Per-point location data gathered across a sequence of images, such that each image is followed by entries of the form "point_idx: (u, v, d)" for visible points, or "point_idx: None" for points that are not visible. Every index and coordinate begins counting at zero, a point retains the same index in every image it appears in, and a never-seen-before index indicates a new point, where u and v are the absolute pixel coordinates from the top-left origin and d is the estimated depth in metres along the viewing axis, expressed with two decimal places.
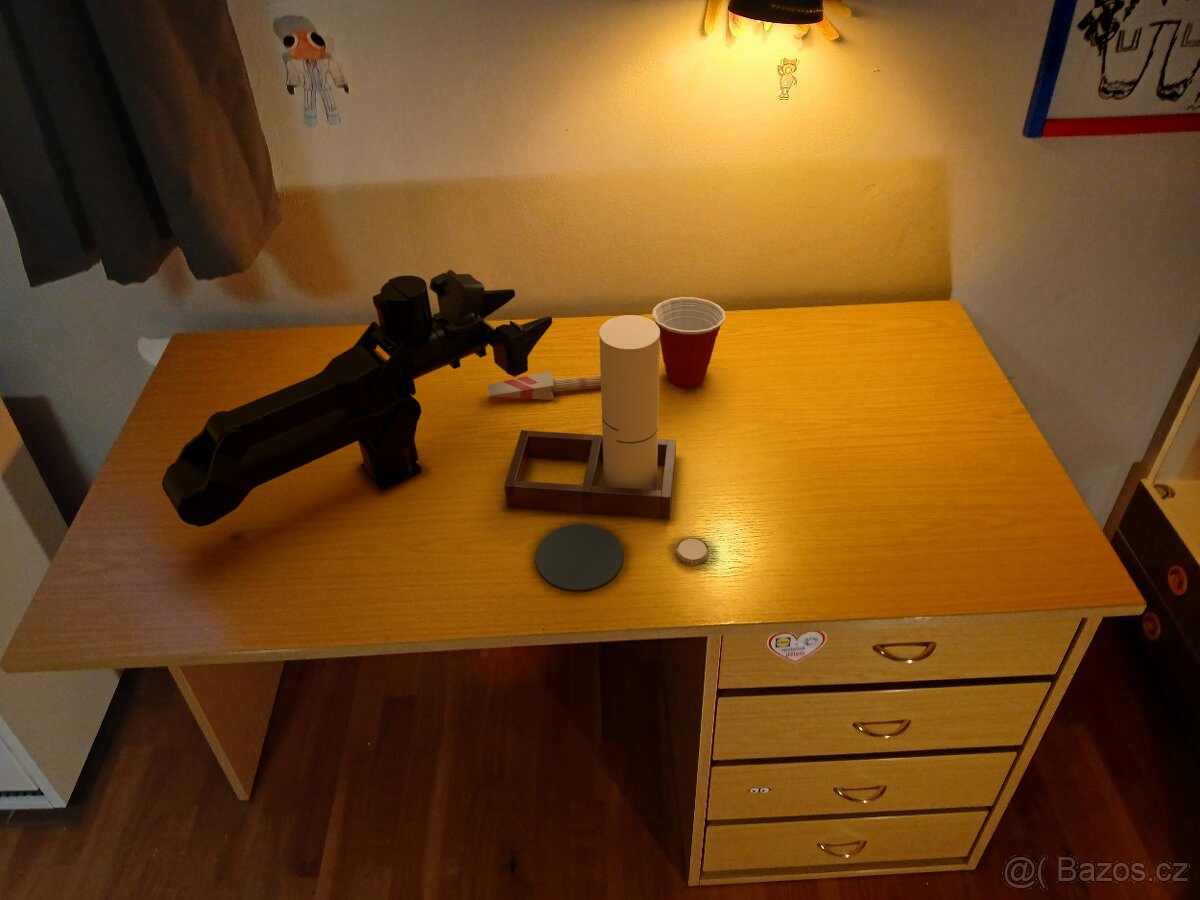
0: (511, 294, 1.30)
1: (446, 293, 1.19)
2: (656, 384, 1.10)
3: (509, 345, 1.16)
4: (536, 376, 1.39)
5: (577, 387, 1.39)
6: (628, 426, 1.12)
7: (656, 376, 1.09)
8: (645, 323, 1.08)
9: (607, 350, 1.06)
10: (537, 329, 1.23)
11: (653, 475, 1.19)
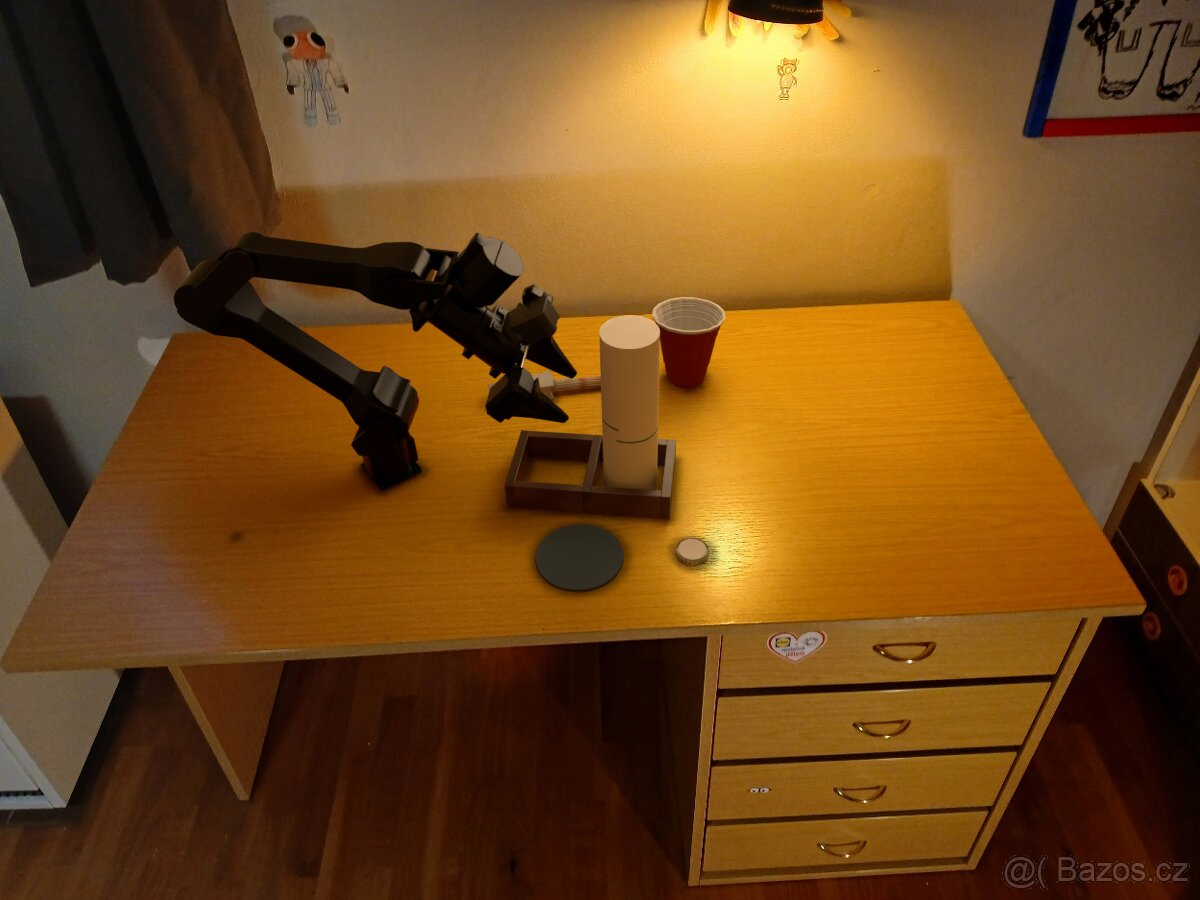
0: (571, 374, 1.19)
1: (528, 304, 1.09)
2: (656, 384, 1.10)
3: (511, 387, 1.04)
4: (536, 376, 1.39)
5: (577, 387, 1.39)
6: (628, 426, 1.12)
7: (656, 376, 1.09)
8: (645, 323, 1.08)
9: (607, 350, 1.06)
10: (547, 410, 1.10)
11: (653, 475, 1.19)
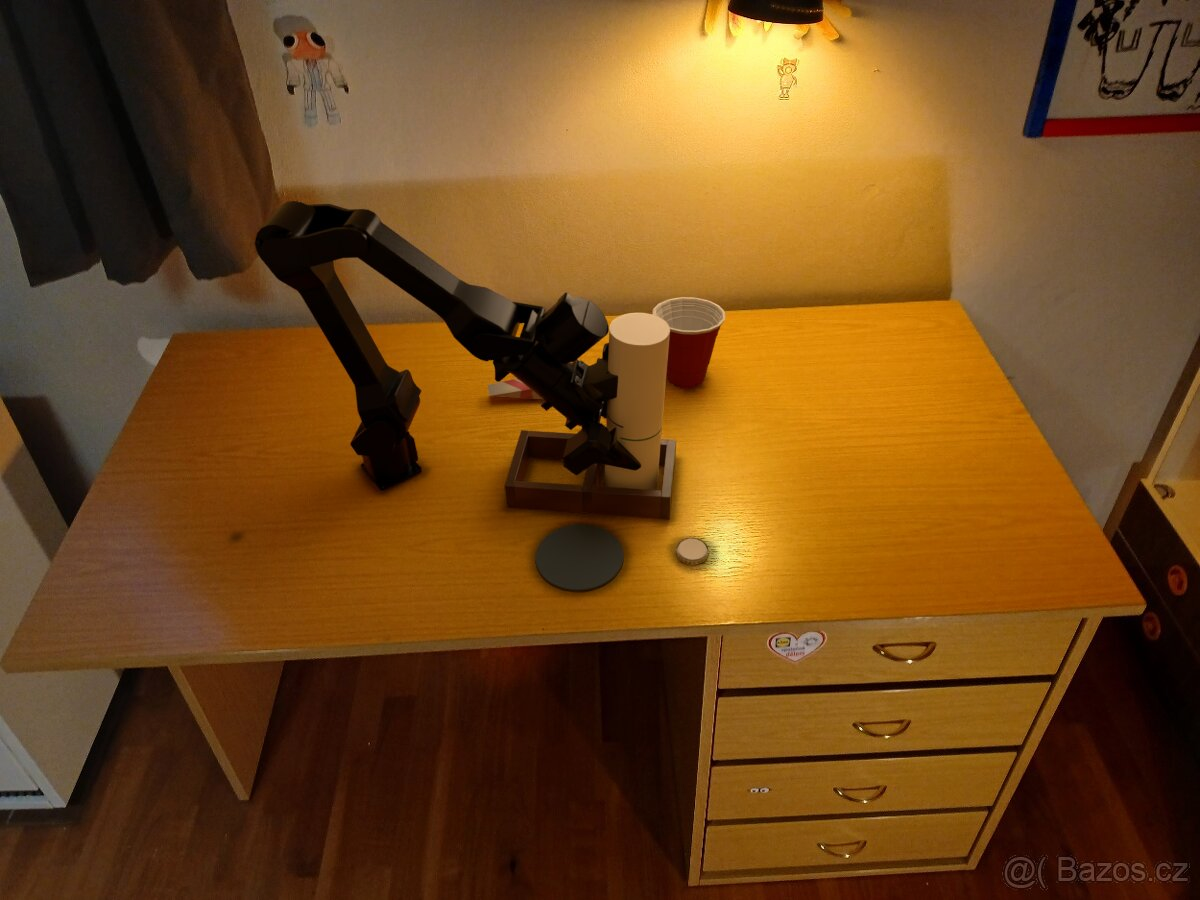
0: None
1: None
2: (663, 382, 1.10)
3: (590, 443, 1.07)
4: None
5: None
6: (633, 424, 1.12)
7: (664, 374, 1.09)
8: (655, 321, 1.08)
9: (617, 345, 1.06)
10: (622, 458, 1.14)
11: (654, 475, 1.19)
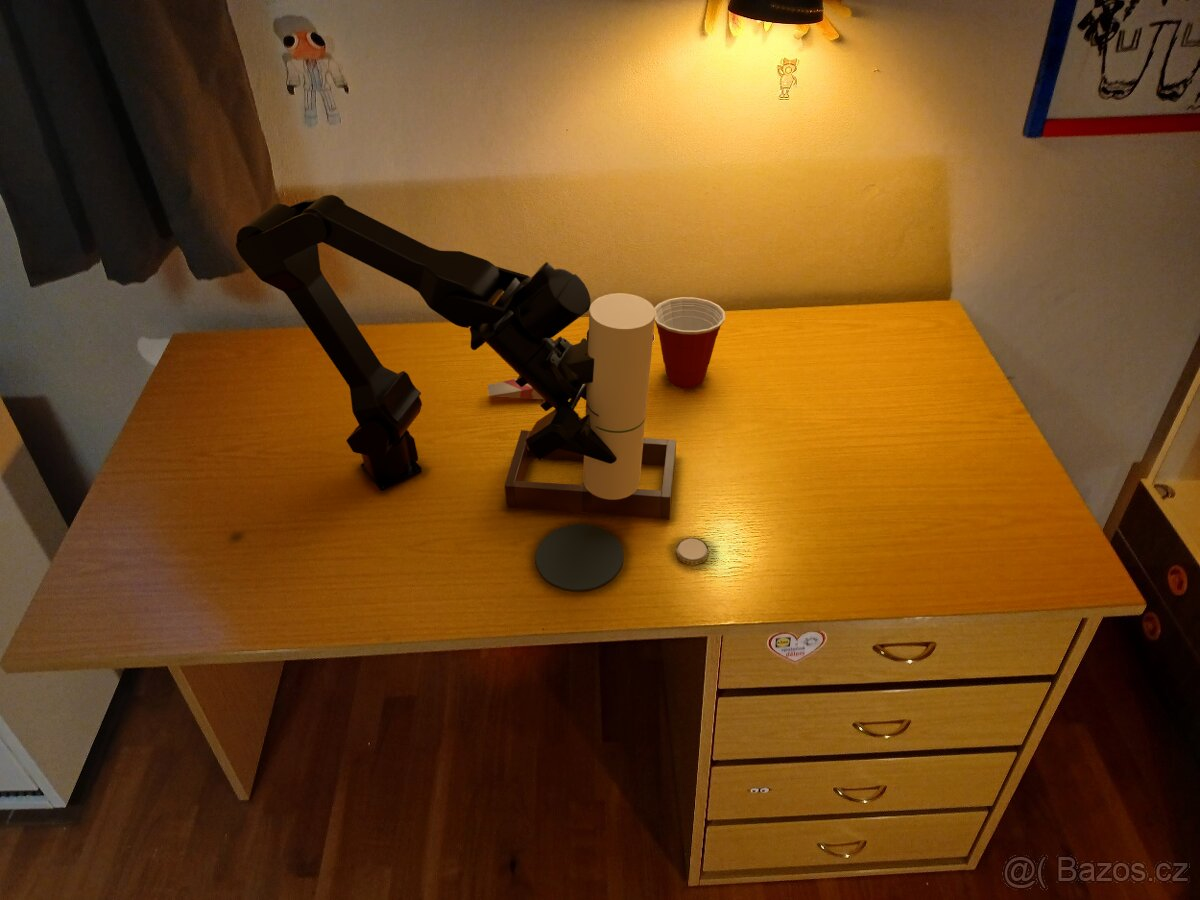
0: None
1: None
2: (644, 372, 1.01)
3: (553, 427, 0.99)
4: None
5: None
6: (608, 413, 1.03)
7: (645, 364, 1.00)
8: (642, 304, 0.99)
9: (593, 326, 0.97)
10: (594, 449, 1.06)
11: (633, 471, 1.10)
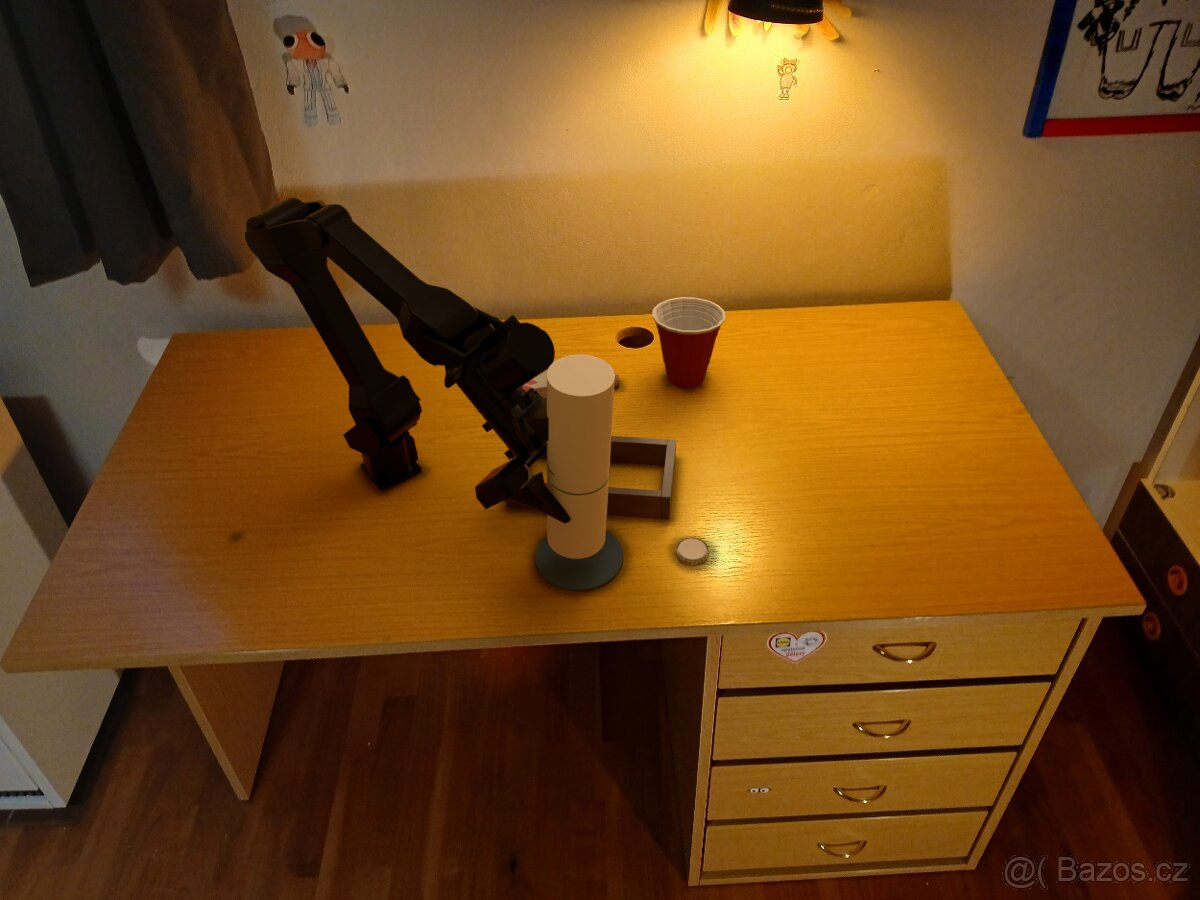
0: None
1: None
2: (599, 440, 0.97)
3: (496, 481, 0.98)
4: None
5: None
6: (562, 474, 1.00)
7: (599, 432, 0.97)
8: (604, 371, 0.96)
9: (547, 386, 0.95)
10: (547, 506, 1.03)
11: (591, 534, 1.07)
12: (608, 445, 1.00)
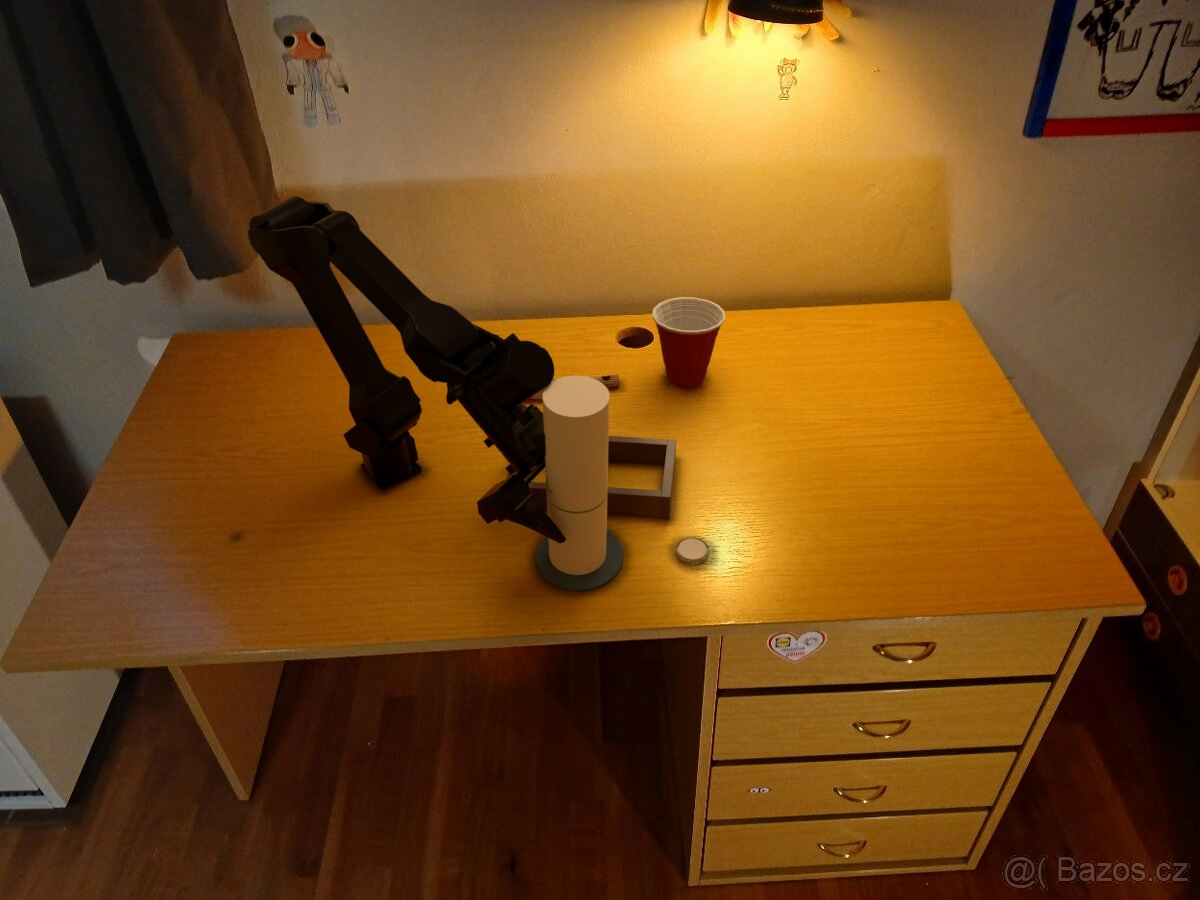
0: None
1: None
2: (596, 459, 0.99)
3: (497, 496, 0.99)
4: None
5: None
6: (560, 493, 1.02)
7: (596, 451, 0.99)
8: (598, 391, 0.98)
9: (543, 408, 0.97)
10: (542, 527, 1.04)
11: (592, 551, 1.09)
12: (605, 463, 1.02)
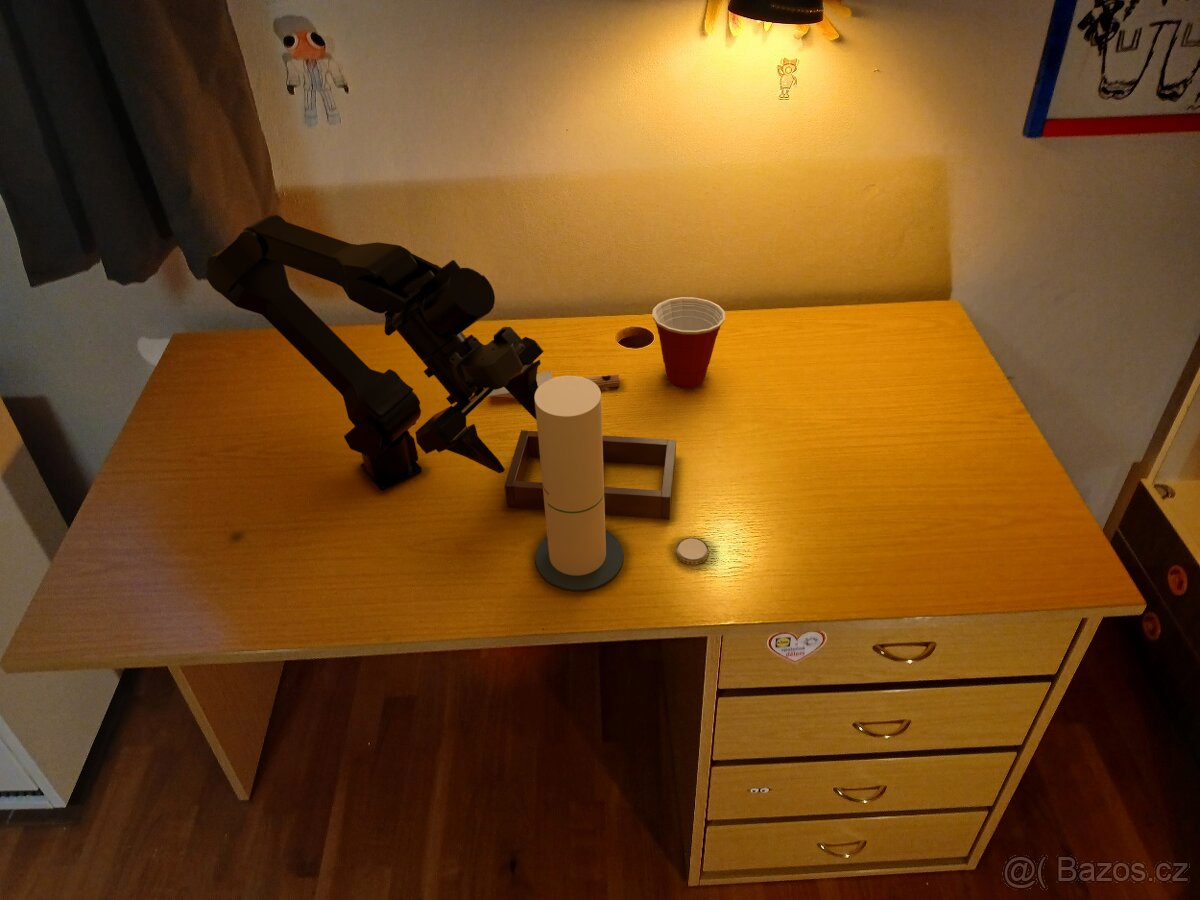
0: None
1: (494, 347, 1.03)
2: (590, 458, 1.00)
3: (433, 427, 1.00)
4: None
5: None
6: (556, 493, 1.03)
7: (589, 450, 0.99)
8: (590, 390, 0.98)
9: (536, 409, 0.97)
10: (481, 457, 1.05)
11: (591, 551, 1.09)
12: (600, 462, 1.02)
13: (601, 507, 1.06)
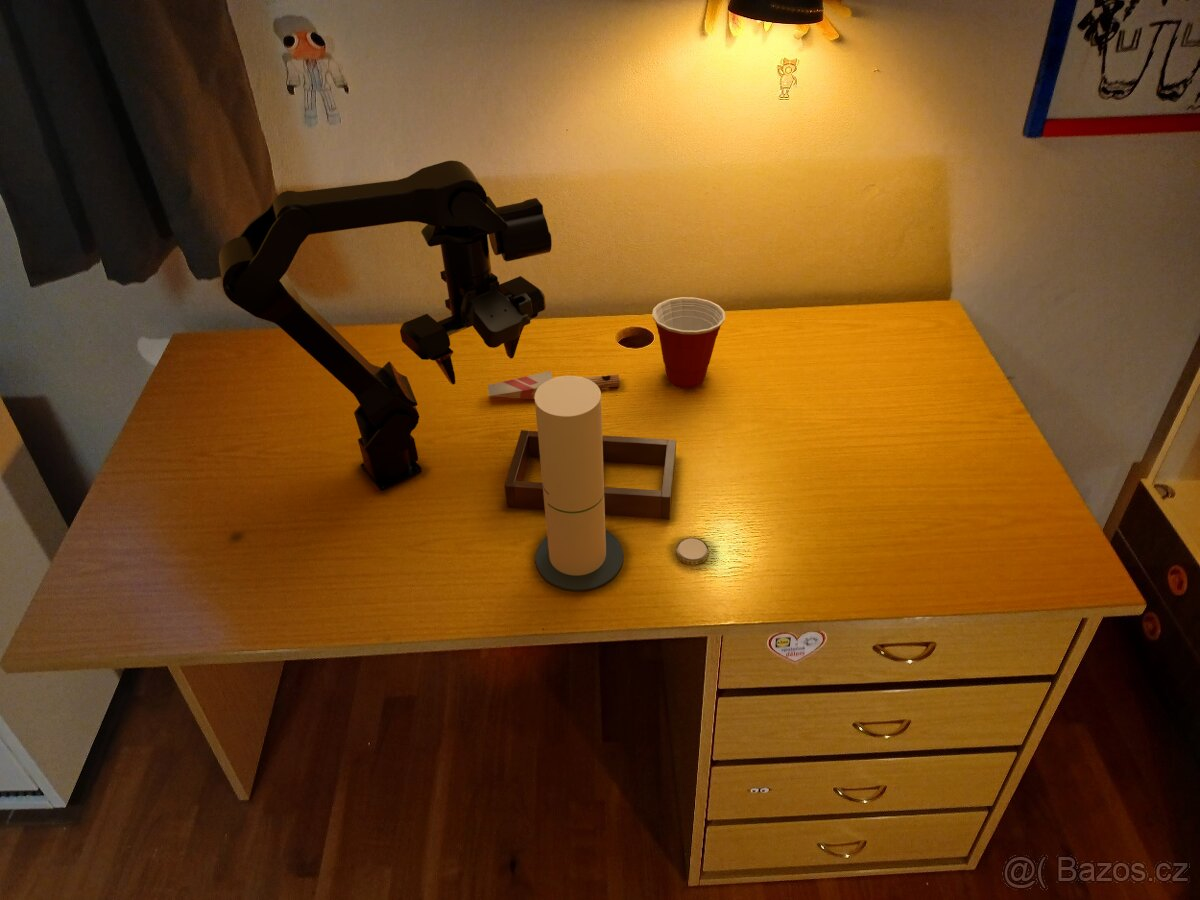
0: (508, 353, 1.24)
1: (507, 307, 1.12)
2: (590, 458, 1.00)
3: (420, 342, 1.11)
4: (536, 376, 1.39)
5: None
6: (556, 493, 1.03)
7: (589, 450, 0.99)
8: (590, 390, 0.98)
9: (536, 409, 0.97)
10: (442, 368, 1.18)
11: (591, 551, 1.09)
12: (600, 462, 1.02)
13: (601, 507, 1.06)
